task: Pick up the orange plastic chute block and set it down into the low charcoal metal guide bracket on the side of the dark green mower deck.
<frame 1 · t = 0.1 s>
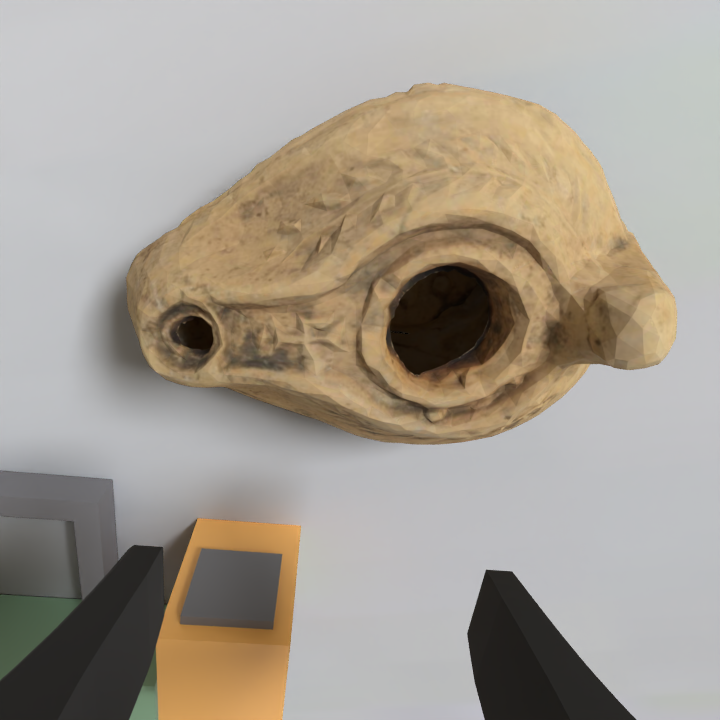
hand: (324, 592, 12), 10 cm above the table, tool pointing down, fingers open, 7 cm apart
oil lamp: (376, 271, 20), on the table
mower deck: (36, 655, 26), on the table
chute block: (247, 560, 25), on the table
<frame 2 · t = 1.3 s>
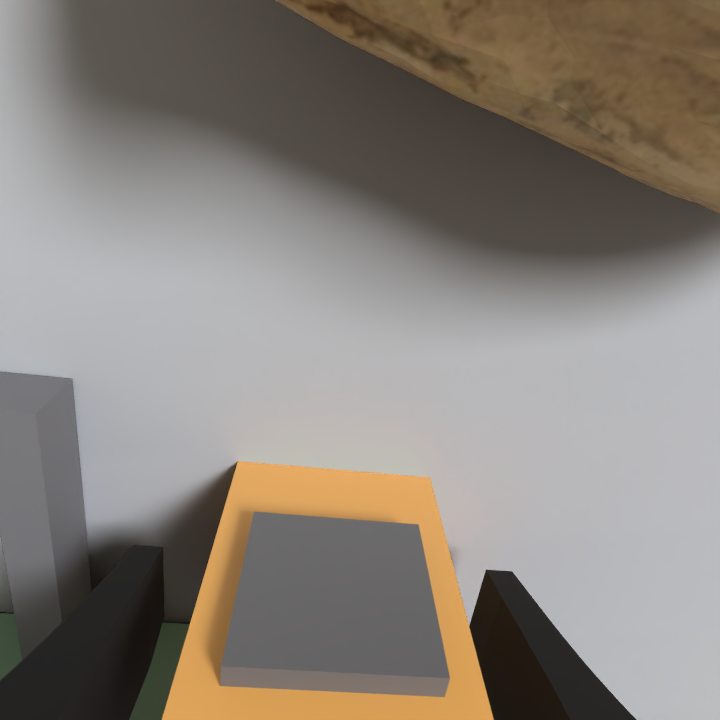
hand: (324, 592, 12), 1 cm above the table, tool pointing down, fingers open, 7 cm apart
chute block: (325, 543, 13), on the table
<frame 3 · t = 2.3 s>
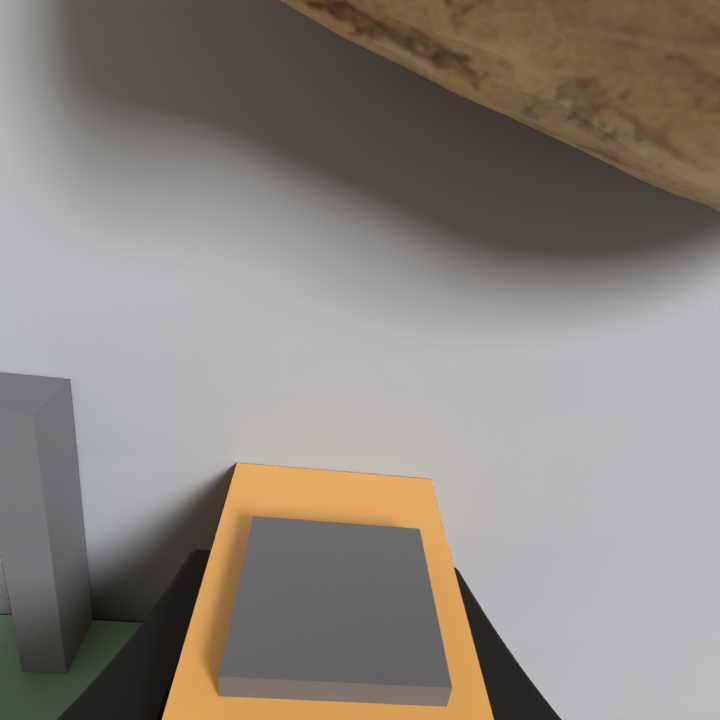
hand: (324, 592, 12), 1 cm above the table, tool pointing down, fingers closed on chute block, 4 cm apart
chute block: (325, 546, 13), on the table, touching gripper
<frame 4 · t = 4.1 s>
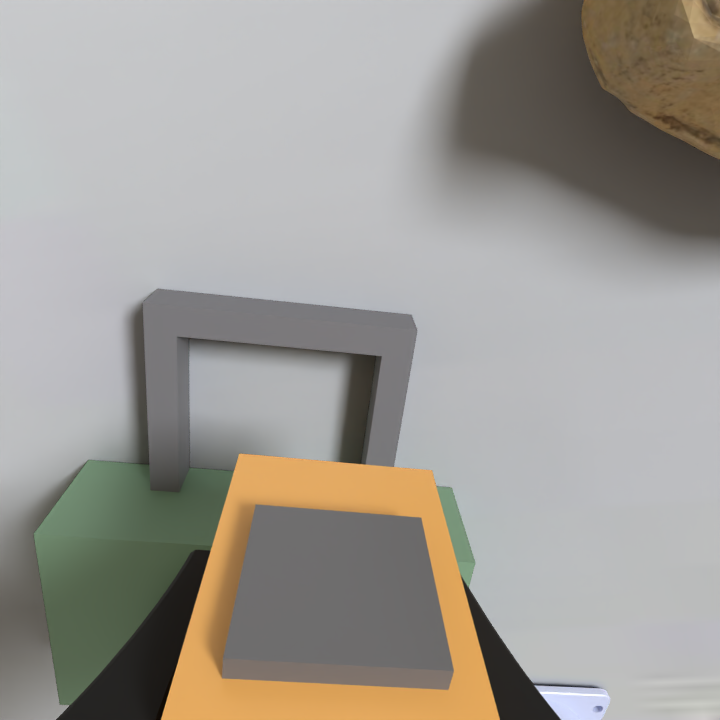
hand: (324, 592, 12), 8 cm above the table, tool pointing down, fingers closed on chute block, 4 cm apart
mower deck: (269, 553, 22), on the table
chute block: (326, 537, 13), point 7 cm above the table, touching gripper
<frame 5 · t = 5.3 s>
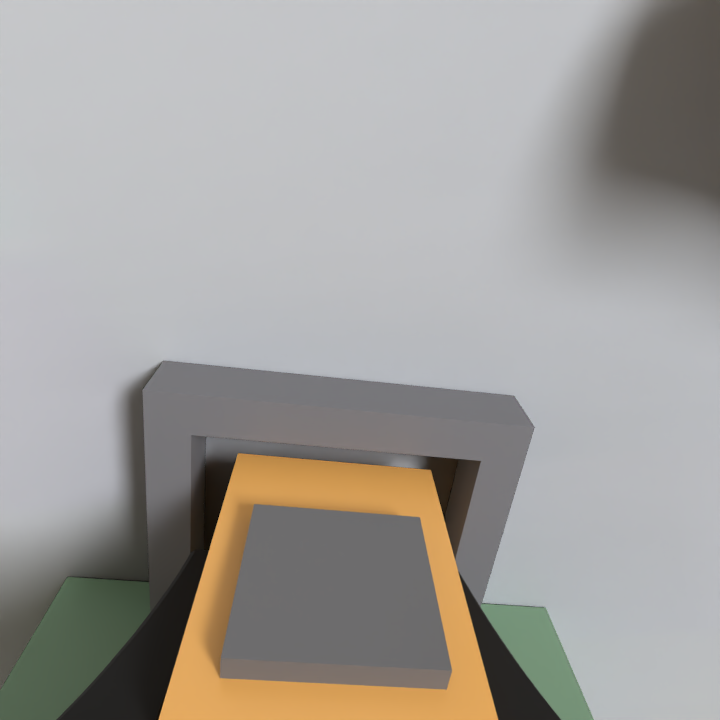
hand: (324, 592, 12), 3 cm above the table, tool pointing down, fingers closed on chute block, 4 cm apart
mower deck: (303, 684, 17), on the table
chute block: (325, 537, 13), point 1 cm above the table, touching gripper
when the fingers open (2 cm above the table, at t = 6.3 s): chute block stays where it is, resting in mower deck.
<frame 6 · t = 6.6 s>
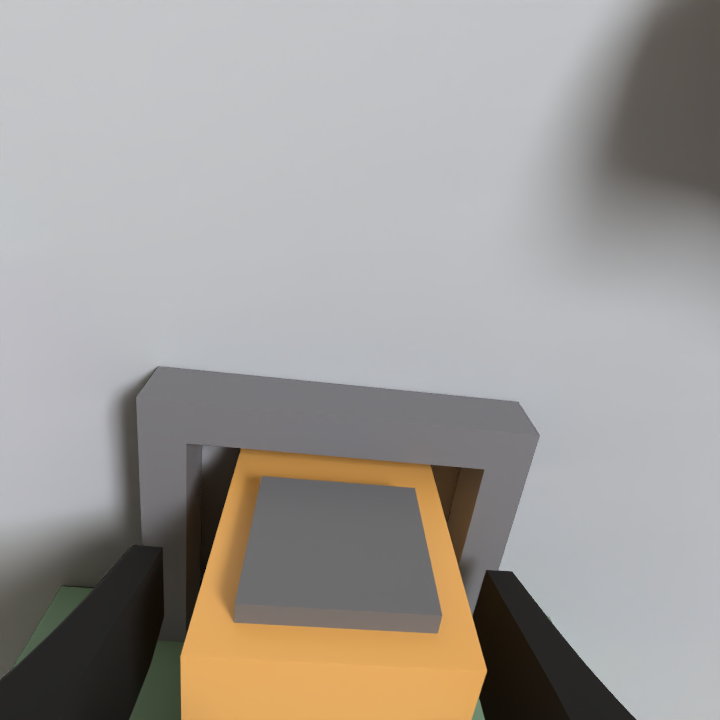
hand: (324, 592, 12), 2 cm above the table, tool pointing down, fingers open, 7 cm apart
mower deck: (302, 694, 17), on the table
chute block: (327, 513, 14), resting in mower deck
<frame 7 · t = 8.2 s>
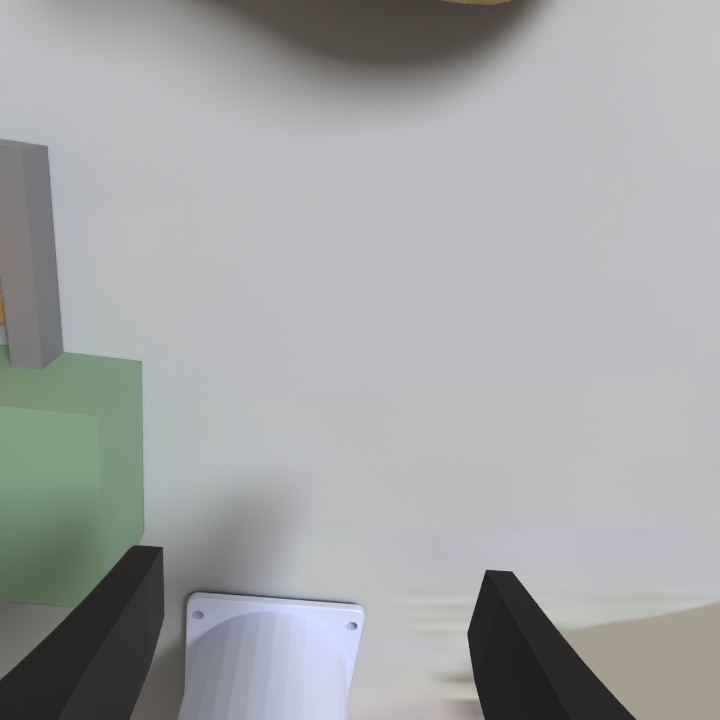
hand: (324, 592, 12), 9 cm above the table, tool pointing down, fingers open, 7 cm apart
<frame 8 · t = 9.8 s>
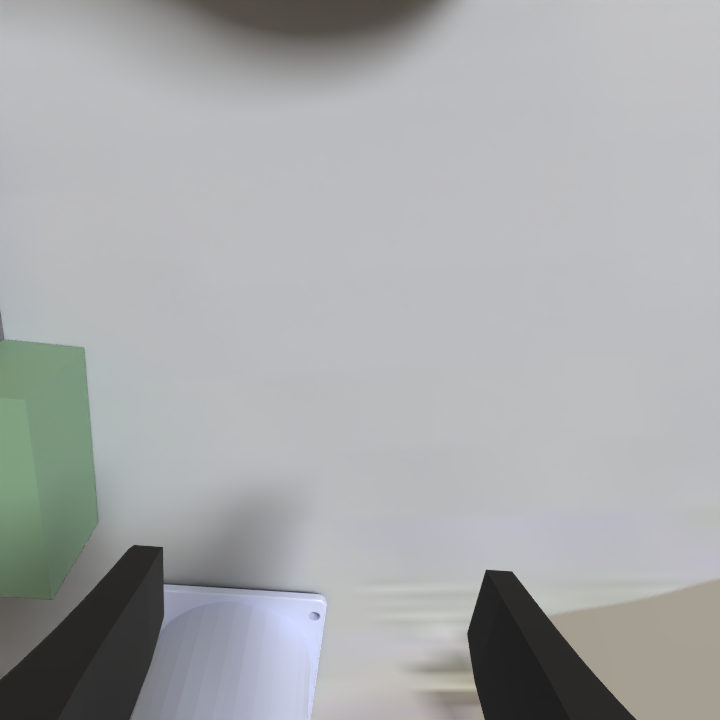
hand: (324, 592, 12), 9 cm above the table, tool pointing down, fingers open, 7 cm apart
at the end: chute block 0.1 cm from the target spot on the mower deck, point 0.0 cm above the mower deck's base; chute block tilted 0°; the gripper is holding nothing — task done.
